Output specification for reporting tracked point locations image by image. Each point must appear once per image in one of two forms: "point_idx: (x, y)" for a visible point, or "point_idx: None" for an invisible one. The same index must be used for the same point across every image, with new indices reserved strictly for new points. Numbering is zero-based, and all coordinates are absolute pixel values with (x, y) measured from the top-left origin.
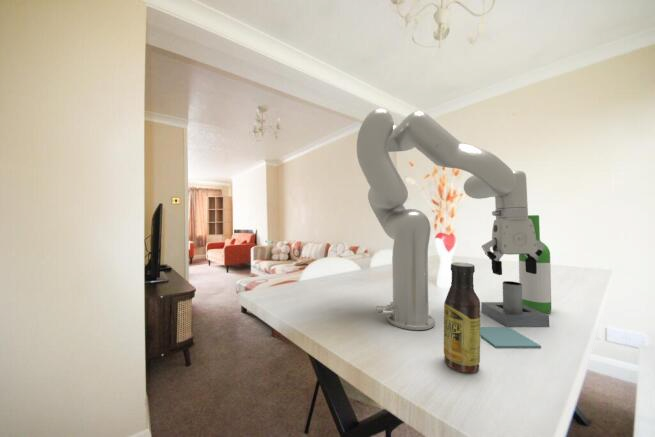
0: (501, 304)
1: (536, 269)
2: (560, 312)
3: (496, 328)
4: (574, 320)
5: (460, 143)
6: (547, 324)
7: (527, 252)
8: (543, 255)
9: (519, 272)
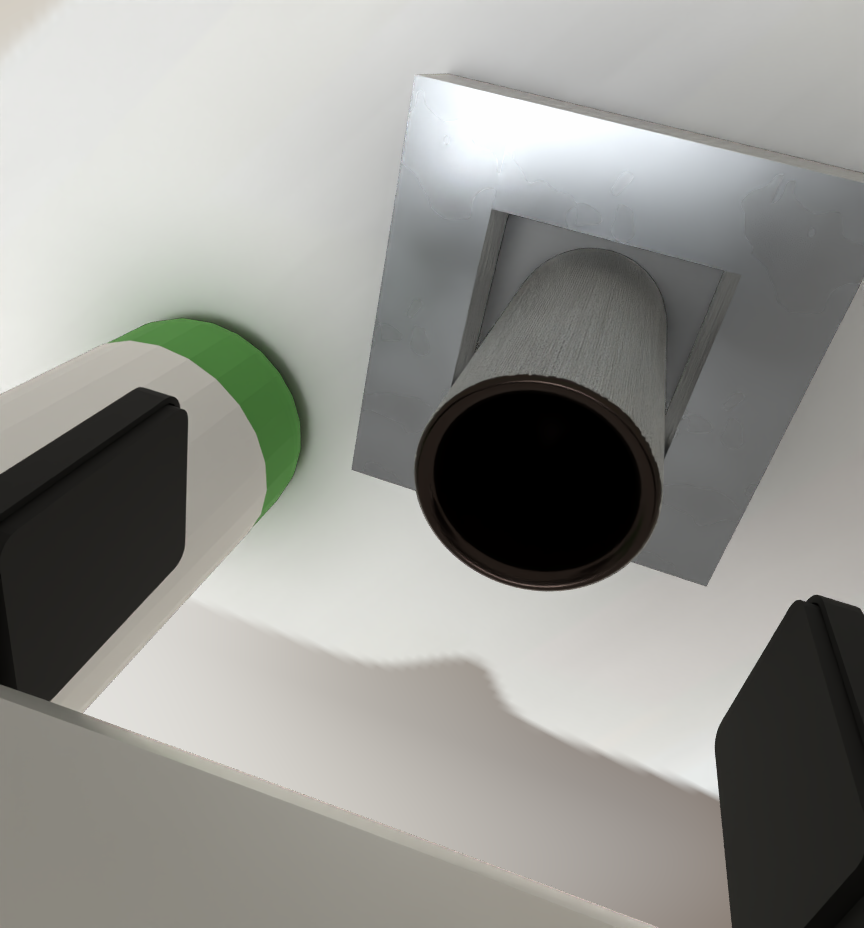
0: None
1: (93, 415)
2: (66, 319)
3: None
4: (103, 150)
5: None
6: (459, 77)
7: (27, 727)
8: None
9: (93, 699)
